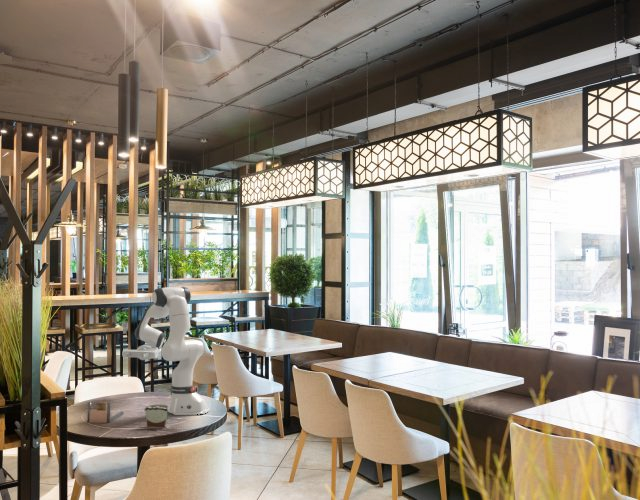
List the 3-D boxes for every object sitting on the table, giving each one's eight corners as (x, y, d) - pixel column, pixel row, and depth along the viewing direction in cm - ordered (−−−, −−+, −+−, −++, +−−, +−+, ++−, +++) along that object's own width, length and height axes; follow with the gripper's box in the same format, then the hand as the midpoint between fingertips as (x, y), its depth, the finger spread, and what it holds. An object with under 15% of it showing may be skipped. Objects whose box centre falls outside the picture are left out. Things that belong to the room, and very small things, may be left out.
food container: (172, 424, 279) (172, 404, 280) (167, 428, 273) (168, 407, 274) (148, 423, 281) (149, 403, 281) (143, 427, 274) (144, 406, 275)
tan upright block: (109, 418, 289) (110, 401, 289) (105, 421, 284) (105, 403, 284) (100, 418, 289) (101, 401, 289) (95, 420, 284) (96, 403, 284)
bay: (123, 414, 298) (124, 395, 298) (109, 423, 280) (109, 403, 281) (102, 413, 299) (103, 394, 299) (86, 422, 281) (87, 402, 282)
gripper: (127, 346, 336) (117, 349, 322) (160, 347, 334) (152, 350, 321) (127, 357, 336) (117, 360, 322) (160, 358, 334) (151, 361, 320)
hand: (134, 355), depth 321 cm, fingers open, 8 cm apart
